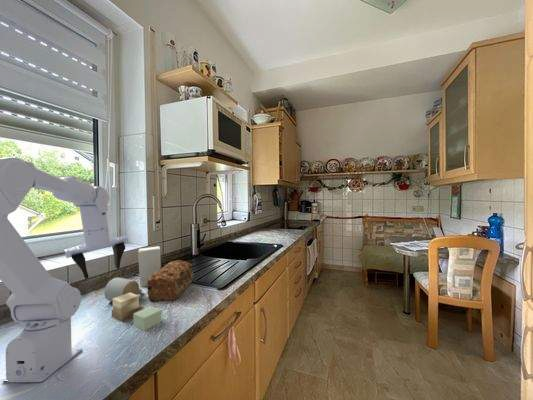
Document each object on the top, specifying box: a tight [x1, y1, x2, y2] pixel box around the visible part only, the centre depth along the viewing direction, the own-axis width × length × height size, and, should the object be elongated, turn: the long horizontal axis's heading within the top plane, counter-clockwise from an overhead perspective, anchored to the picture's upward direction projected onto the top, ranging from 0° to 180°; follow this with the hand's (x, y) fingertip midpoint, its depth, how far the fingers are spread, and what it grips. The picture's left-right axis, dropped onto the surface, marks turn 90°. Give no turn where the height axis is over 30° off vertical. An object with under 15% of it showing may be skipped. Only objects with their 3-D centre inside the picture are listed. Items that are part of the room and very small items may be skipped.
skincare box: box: [137, 245, 162, 288], centre depth 94 cm, size 8×6×15 cm
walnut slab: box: [111, 304, 144, 323], centre depth 68 cm, size 6×6×2 cm
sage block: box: [133, 305, 162, 331], centre depth 63 cm, size 5×5×4 cm
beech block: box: [112, 292, 140, 314], centre depth 68 cm, size 5×5×4 cm
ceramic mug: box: [103, 277, 143, 302], centre depth 80 cm, size 11×8×8 cm
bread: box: [146, 259, 194, 302], centre depth 86 cm, size 19×11×10 cm, turn 179°
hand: (102, 272), depth 66 cm, fingers open, 7 cm apart
